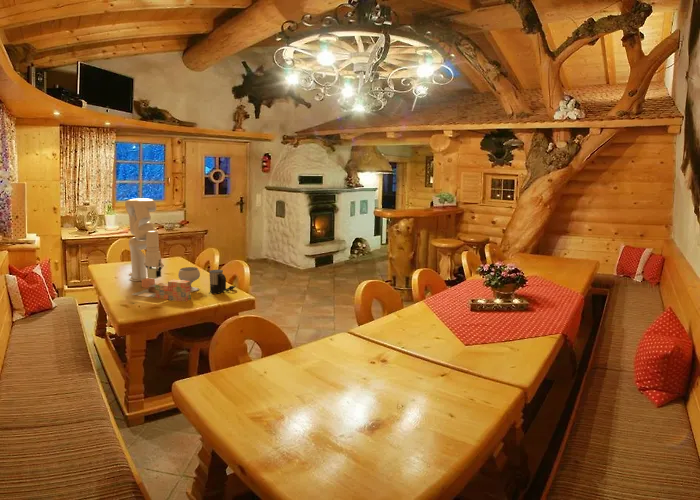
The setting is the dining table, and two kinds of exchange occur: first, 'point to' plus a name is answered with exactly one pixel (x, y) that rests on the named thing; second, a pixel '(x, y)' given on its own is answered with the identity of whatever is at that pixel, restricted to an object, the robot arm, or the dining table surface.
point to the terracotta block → (147, 282)
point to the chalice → (189, 276)
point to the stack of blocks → (174, 290)
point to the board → (145, 293)
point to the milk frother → (218, 282)
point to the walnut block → (152, 288)
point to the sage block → (152, 273)
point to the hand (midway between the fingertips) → (154, 275)
